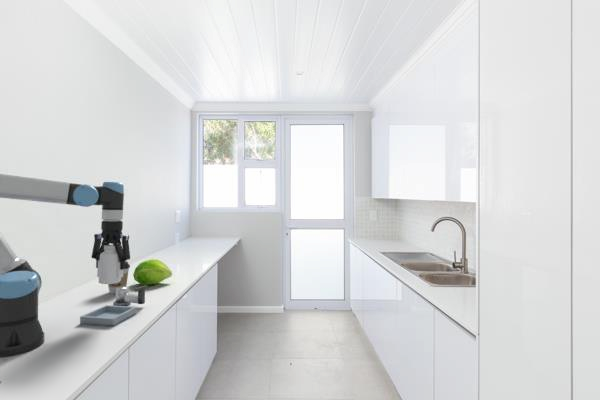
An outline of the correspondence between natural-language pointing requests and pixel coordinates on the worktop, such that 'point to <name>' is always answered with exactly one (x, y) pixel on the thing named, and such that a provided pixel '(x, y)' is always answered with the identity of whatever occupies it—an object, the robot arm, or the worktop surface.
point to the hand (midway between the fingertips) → (110, 276)
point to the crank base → (121, 303)
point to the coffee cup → (123, 280)
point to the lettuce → (151, 272)
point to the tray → (108, 315)
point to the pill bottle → (108, 265)
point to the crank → (130, 295)
